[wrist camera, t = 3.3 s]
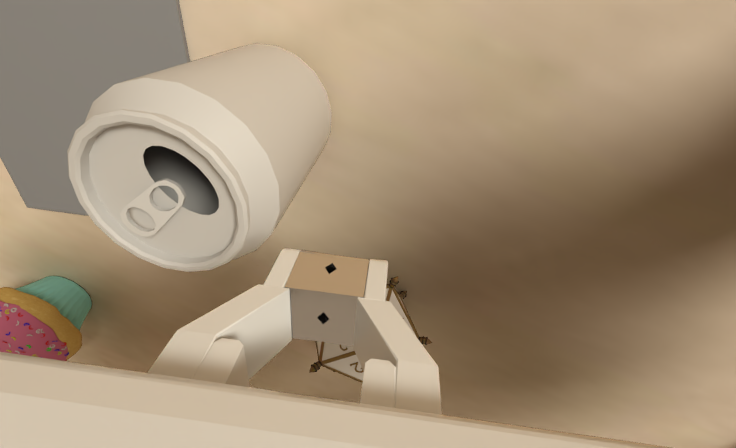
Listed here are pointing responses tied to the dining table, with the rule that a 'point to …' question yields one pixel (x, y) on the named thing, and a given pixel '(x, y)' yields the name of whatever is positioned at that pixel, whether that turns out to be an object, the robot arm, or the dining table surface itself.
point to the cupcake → (43, 318)
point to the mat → (71, 79)
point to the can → (200, 155)
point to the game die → (345, 356)
